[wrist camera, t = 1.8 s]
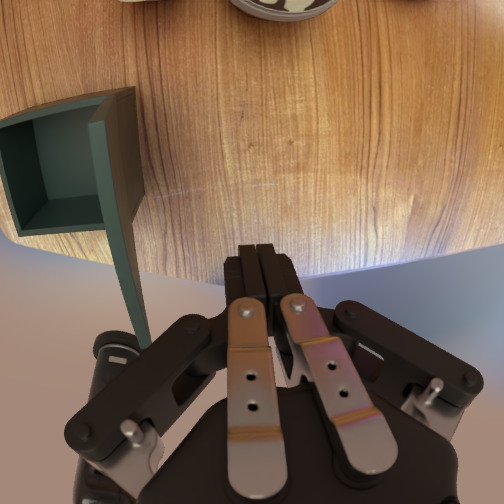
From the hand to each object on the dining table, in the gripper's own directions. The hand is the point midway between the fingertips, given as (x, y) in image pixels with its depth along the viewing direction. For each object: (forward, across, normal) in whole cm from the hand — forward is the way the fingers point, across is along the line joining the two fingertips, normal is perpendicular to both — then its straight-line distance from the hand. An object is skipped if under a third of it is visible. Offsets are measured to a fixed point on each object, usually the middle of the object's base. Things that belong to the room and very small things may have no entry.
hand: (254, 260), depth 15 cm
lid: (+8, -9, 0) cm, 12 cm away
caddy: (+25, -18, 0) cm, 31 cm away
